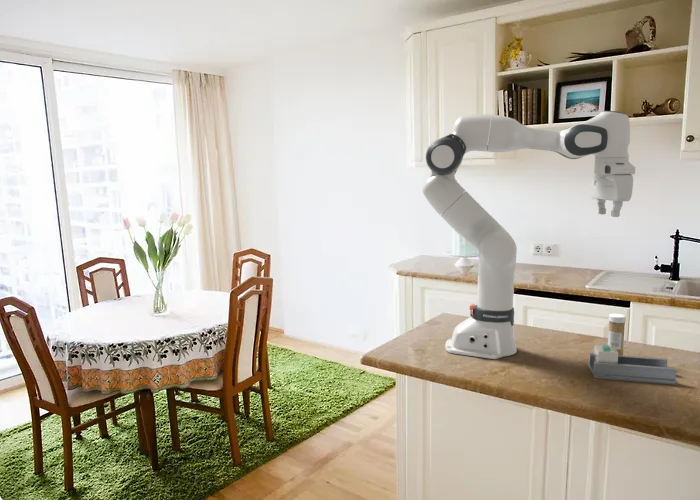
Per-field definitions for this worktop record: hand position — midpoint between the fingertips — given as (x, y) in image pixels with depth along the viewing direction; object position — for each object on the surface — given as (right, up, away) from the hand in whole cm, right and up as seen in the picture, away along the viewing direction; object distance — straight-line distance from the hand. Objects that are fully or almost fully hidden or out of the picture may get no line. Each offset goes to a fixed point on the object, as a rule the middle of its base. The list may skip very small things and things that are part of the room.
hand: (608, 215), depth 154 cm
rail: (+2, -45, -7) cm, 46 cm away
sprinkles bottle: (+5, -44, +6) cm, 44 cm away
